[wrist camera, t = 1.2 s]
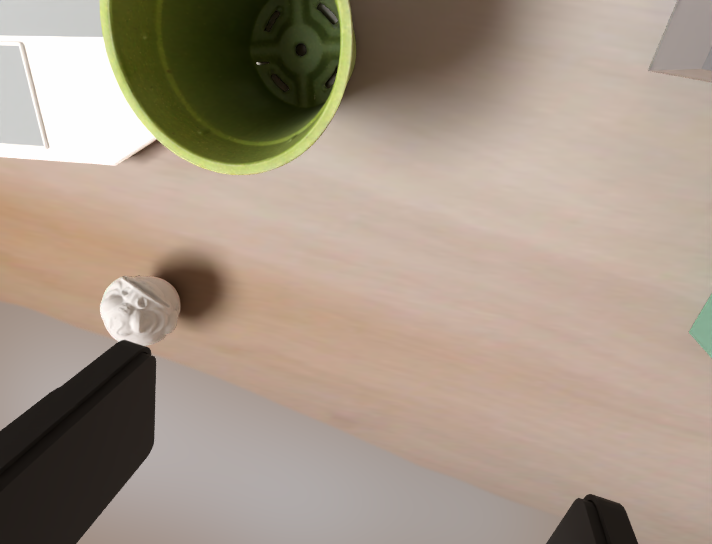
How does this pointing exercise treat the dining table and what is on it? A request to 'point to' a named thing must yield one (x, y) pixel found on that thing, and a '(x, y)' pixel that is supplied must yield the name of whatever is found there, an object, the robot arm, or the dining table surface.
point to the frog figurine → (140, 309)
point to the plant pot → (230, 75)
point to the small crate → (686, 42)
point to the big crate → (704, 327)
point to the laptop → (62, 86)
